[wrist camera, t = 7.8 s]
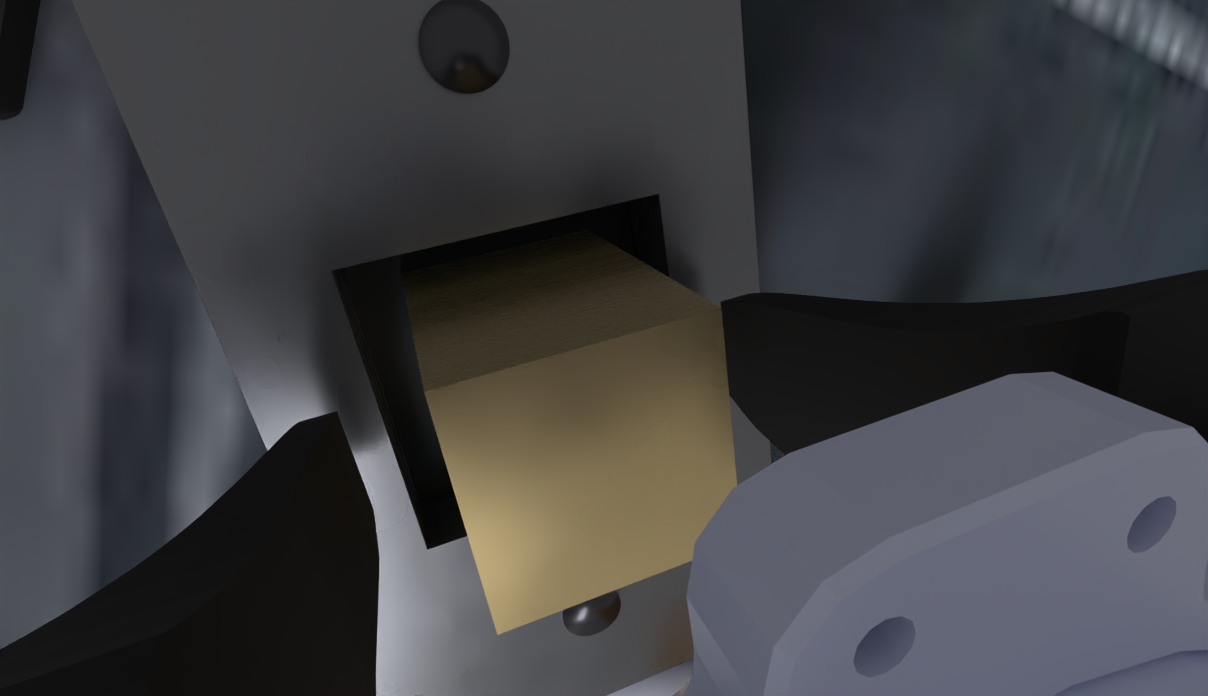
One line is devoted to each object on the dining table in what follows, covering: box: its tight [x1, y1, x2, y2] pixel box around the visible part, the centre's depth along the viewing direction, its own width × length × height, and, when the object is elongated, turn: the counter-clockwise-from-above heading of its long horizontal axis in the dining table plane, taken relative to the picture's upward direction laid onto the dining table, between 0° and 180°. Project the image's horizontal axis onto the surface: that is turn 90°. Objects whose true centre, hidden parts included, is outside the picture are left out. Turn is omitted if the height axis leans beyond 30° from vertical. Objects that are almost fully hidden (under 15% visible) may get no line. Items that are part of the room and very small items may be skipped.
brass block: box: [400, 230, 737, 635], centre depth 12 cm, size 4×4×6 cm
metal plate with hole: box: [71, 0, 771, 696], centre depth 14 cm, size 10×18×2 cm, turn 9°
